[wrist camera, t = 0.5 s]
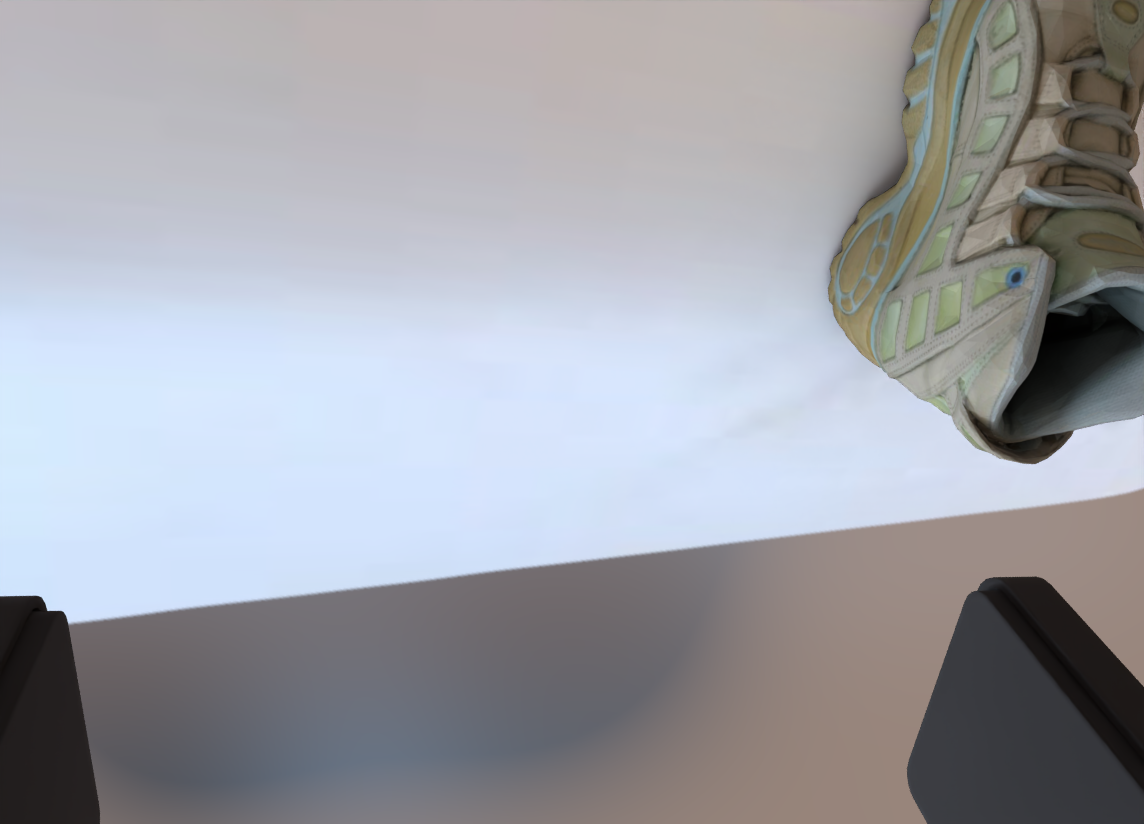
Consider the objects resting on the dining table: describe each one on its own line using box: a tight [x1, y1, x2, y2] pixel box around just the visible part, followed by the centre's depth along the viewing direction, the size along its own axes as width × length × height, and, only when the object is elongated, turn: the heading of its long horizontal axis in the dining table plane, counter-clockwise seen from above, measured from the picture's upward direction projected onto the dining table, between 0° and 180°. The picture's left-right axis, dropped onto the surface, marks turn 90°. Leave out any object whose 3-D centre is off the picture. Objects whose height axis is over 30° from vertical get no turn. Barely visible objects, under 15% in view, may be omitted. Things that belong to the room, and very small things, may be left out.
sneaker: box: [828, 0, 1144, 464], centre depth 38 cm, size 11×19×15 cm, turn 150°
